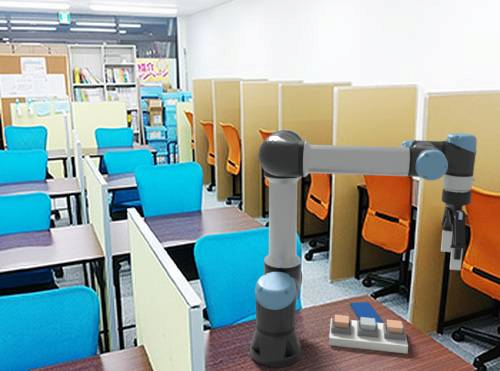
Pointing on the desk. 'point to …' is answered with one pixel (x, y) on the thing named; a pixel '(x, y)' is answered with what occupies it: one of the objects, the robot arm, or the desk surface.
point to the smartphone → (365, 311)
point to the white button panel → (368, 337)
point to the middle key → (367, 324)
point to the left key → (341, 321)
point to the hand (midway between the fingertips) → (450, 260)
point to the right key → (394, 326)
